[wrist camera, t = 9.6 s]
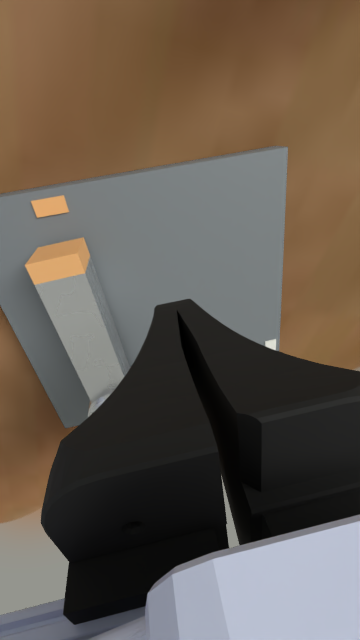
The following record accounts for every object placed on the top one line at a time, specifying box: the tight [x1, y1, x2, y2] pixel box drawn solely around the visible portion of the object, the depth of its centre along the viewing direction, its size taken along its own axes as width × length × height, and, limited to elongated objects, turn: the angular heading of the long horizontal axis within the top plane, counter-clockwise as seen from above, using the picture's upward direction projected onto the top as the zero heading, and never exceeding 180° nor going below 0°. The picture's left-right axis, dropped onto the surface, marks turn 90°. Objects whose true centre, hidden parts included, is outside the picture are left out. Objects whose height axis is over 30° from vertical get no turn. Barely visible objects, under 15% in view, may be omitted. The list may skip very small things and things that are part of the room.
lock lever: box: [25, 237, 131, 417], centre depth 18 cm, size 12×4×3 cm, turn 10°
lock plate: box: [0, 146, 288, 428], centre depth 18 cm, size 17×16×6 cm
